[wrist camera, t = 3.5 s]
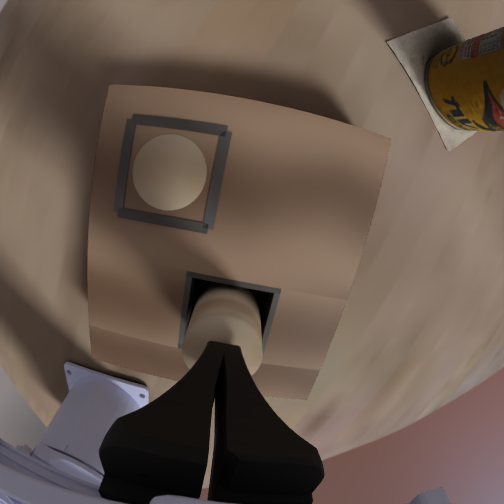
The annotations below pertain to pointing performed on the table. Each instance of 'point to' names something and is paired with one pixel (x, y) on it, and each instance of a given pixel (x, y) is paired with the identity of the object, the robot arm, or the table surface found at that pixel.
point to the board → (225, 225)
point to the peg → (225, 324)
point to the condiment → (456, 78)
